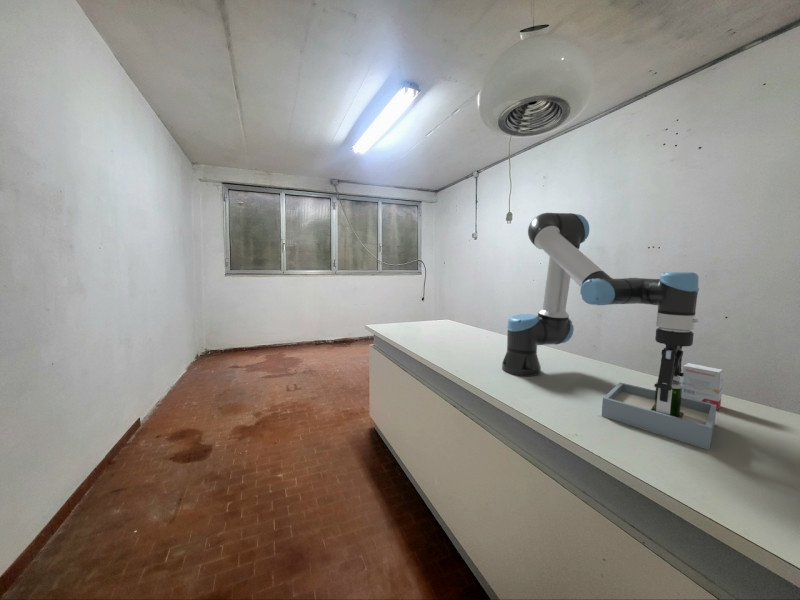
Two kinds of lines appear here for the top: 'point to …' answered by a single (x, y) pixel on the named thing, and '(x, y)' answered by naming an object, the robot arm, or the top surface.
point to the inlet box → (661, 415)
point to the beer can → (673, 398)
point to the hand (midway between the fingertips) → (667, 404)
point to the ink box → (702, 383)
